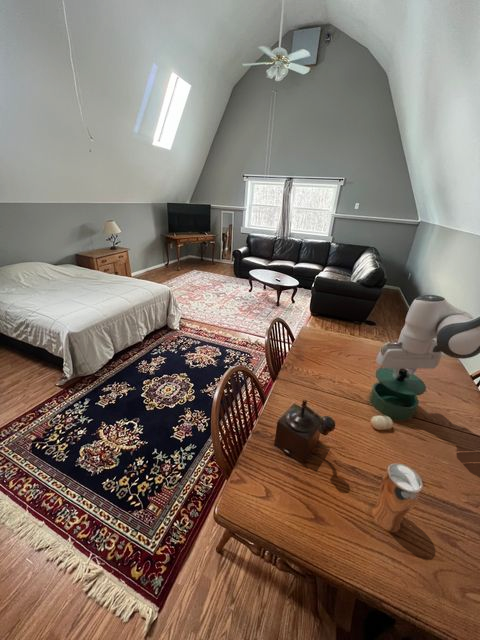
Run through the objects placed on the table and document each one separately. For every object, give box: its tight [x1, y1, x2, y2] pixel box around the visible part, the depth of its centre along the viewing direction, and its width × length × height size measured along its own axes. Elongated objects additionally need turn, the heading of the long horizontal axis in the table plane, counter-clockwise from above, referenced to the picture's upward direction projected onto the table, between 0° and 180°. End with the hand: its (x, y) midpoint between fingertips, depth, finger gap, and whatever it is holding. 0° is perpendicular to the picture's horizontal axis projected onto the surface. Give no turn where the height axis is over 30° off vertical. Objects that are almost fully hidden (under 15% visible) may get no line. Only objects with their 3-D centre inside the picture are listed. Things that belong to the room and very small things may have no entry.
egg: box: [369, 415, 394, 431], centre depth 88 cm, size 7×4×4 cm, turn 94°
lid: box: [375, 367, 427, 397], centre depth 93 cm, size 16×16×5 cm
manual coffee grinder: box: [273, 399, 336, 464], centre depth 76 cm, size 16×11×18 cm
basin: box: [369, 381, 420, 421], centre depth 97 cm, size 15×15×6 cm
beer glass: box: [371, 462, 424, 533], centre depth 60 cm, size 7×7×15 cm
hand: (401, 377), depth 93 cm, fingers closed on lid, 2 cm apart
